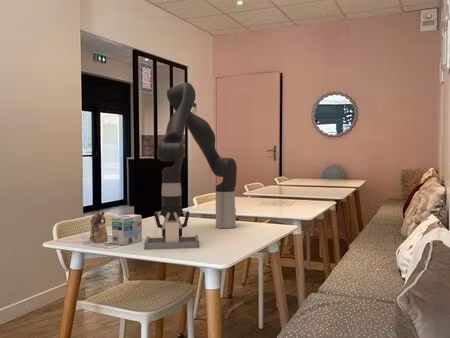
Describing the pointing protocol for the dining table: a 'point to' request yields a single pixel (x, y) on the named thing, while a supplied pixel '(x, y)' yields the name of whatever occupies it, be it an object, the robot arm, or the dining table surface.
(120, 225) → the light bulb box
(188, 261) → the dining table surface
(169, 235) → the block
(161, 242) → the grey flat rectangular frame
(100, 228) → the figurine
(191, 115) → the robot arm
